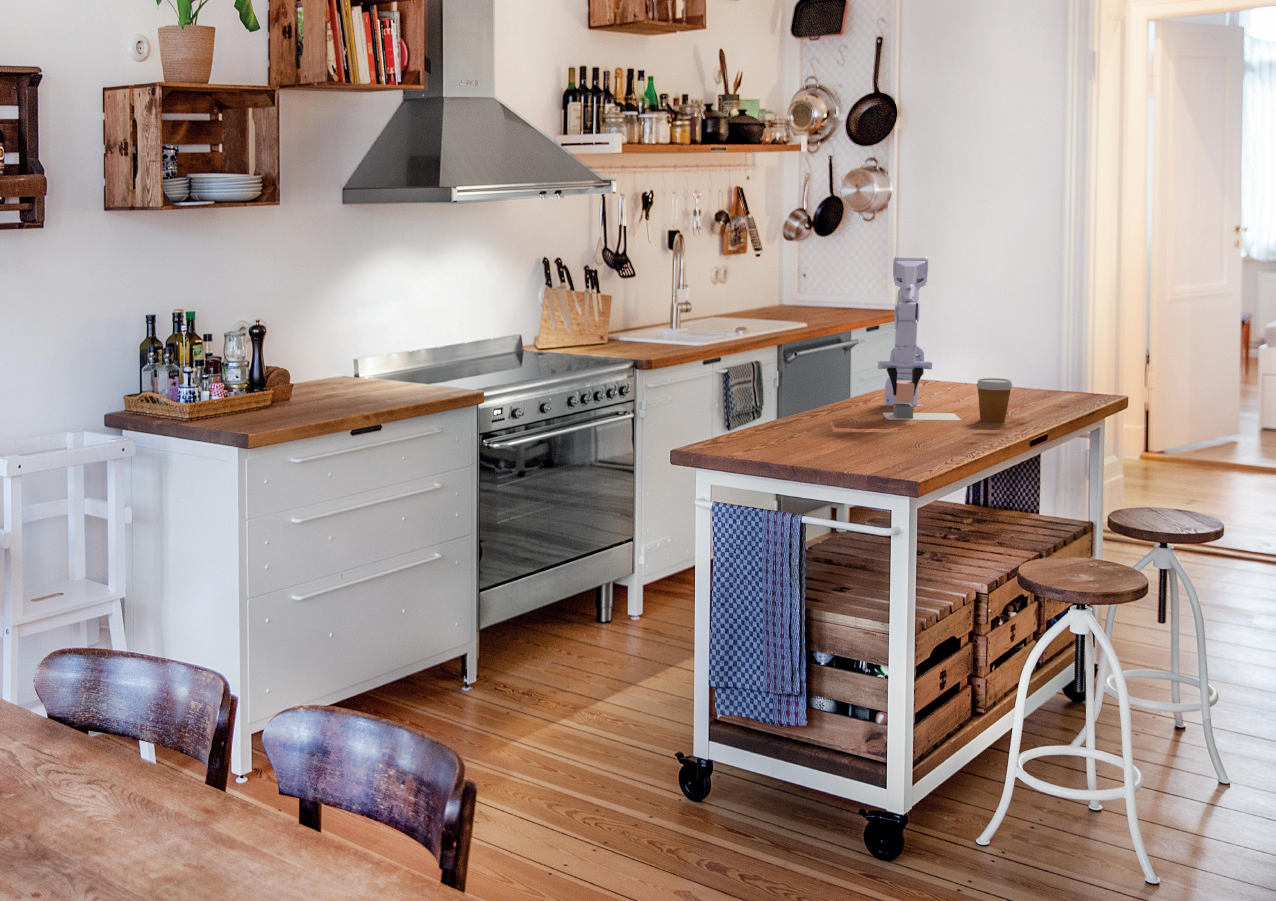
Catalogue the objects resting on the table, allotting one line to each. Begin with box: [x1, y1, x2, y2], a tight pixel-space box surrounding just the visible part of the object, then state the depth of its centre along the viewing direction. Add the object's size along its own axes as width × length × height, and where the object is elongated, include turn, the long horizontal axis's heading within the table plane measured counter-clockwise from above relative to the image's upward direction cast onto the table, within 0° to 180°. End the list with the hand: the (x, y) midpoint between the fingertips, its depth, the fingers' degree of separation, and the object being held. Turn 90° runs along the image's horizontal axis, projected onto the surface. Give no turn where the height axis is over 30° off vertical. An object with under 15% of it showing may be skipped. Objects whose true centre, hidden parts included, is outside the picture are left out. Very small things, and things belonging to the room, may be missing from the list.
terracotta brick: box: [894, 381, 914, 402], centre depth 347 cm, size 4×7×5 cm, turn 175°
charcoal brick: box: [892, 403, 914, 418], centre depth 348 cm, size 4×7×3 cm, turn 175°
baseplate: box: [882, 412, 962, 421], centre depth 348 cm, size 20×12×1 cm, turn 85°
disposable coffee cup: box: [975, 377, 1013, 423], centre depth 340 cm, size 10×10×12 cm
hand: (903, 395), depth 347 cm, fingers closed on terracotta brick, 4 cm apart
